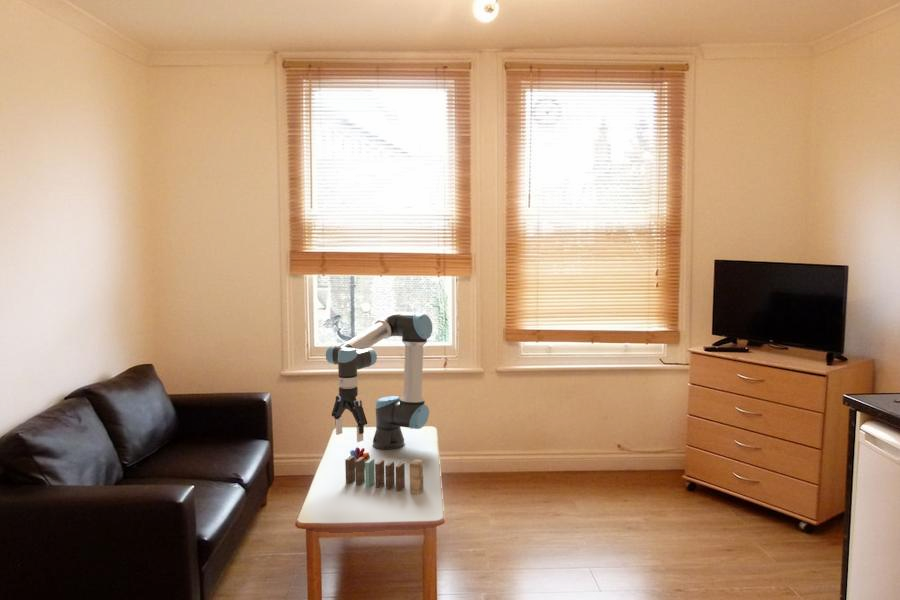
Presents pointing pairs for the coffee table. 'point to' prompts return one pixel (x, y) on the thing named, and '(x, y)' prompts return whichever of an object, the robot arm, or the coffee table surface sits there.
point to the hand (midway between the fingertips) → (349, 437)
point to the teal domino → (369, 472)
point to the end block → (416, 476)
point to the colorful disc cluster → (360, 454)
